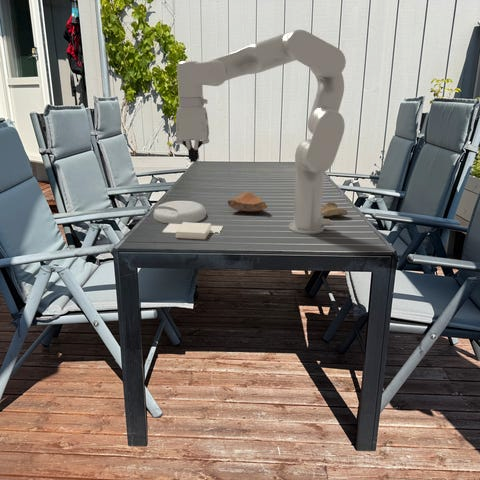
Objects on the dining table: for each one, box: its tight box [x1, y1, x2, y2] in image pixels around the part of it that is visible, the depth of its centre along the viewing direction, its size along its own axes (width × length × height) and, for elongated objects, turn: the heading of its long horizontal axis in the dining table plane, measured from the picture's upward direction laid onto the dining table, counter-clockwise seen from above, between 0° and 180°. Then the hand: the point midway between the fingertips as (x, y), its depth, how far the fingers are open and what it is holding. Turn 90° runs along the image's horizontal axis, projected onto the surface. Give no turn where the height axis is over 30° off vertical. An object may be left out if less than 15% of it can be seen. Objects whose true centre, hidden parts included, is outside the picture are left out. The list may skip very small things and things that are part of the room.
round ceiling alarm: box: [153, 200, 207, 225], centre depth 178 cm, size 25×25×6 cm
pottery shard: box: [321, 202, 349, 217], centre depth 181 cm, size 11×4×10 cm
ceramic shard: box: [227, 190, 268, 212], centre depth 187 cm, size 15×6×15 cm
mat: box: [162, 223, 224, 234], centre depth 158 cm, size 20×20×1 cm
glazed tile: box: [175, 222, 212, 240], centre depth 157 cm, size 2×10×10 cm
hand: (193, 161), depth 150 cm, fingers closed
